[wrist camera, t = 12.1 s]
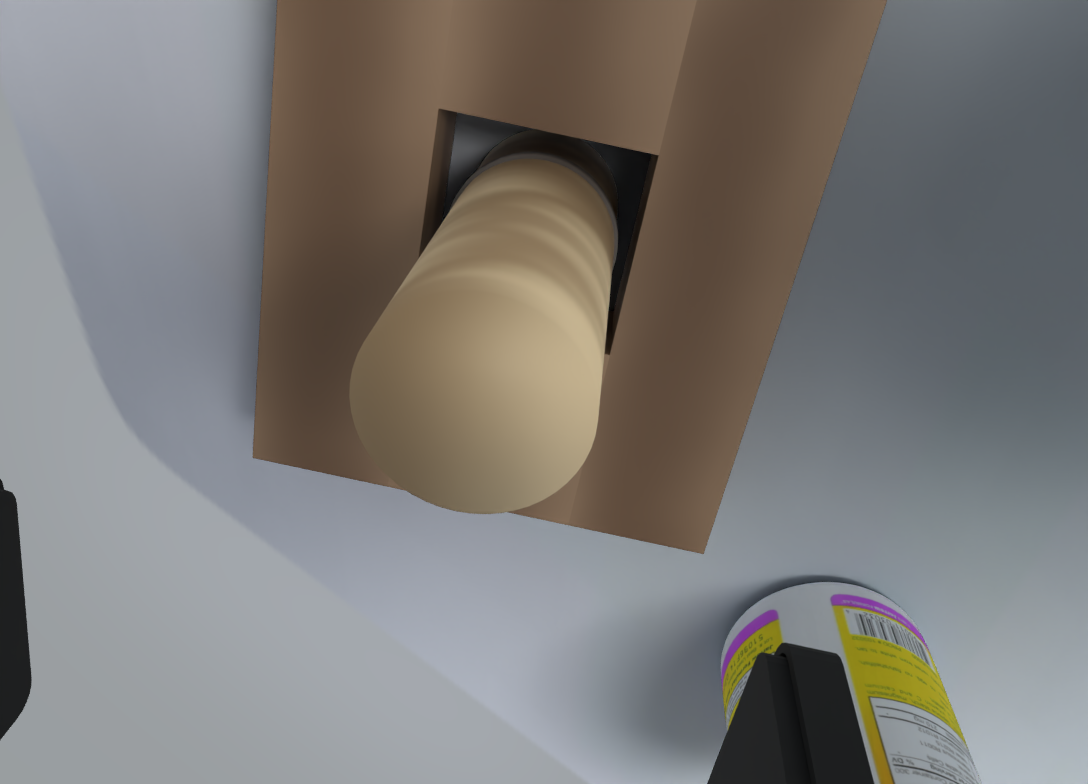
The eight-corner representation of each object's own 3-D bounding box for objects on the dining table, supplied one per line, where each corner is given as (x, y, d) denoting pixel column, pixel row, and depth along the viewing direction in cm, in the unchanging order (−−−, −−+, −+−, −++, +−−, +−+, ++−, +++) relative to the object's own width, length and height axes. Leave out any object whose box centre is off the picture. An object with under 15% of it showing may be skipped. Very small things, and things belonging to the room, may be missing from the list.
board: (876, -67, 22) (908, -65, 19) (698, 496, 29) (703, 554, 27) (331, -184, 22) (288, -197, 19) (288, 408, 29) (252, 457, 27)
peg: (636, 144, 25) (629, 317, 14) (602, 290, 27) (574, 540, 16) (481, 110, 25) (357, 259, 14) (458, 259, 27) (334, 488, 16)
